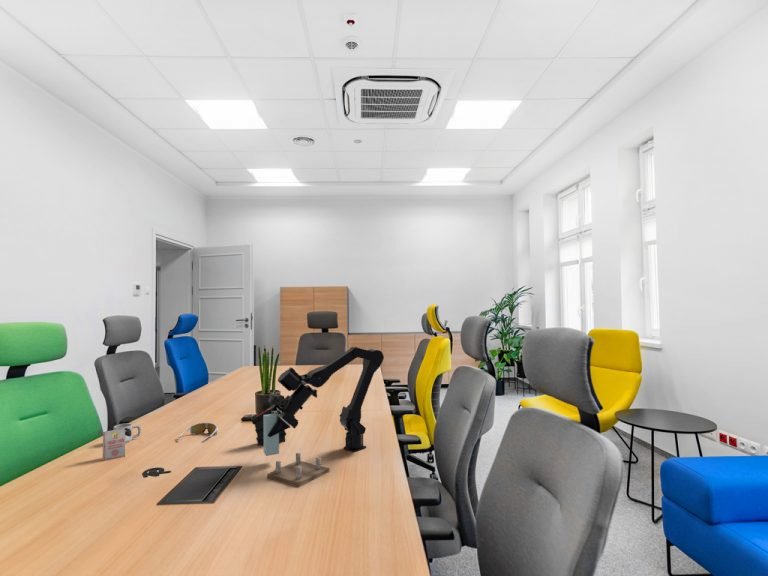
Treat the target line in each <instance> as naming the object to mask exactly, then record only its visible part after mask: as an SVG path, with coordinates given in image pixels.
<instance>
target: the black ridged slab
mask: <svg viewBox="0 0 768 576" xmlns="http://www.w3.org/2000/svg"><path fill="white" fill-rule="evenodd" d="M271 406H272V405H271ZM271 406H269V407H267V408H265V409H264V410H262V411H260V412H257V414H255V415H253V416H252V417H251V416H250V419H251V424H252V425H254V428H255V429H254V430H255V434H256V438H255V439H256V442H257V446H264V422H263V415H269V414H272V412H271V411H274V410H273V409H272V408H270V407H271ZM286 436H287V432H286V430H283V431H281V432H279V443H282V442H283V443H284V442H286Z"/></svg>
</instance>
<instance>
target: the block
mask: <svg viewBox="0 0 768 576" xmlns="http://www.w3.org/2000/svg"><path fill="white" fill-rule="evenodd" d="M277 416H278V415H277V414H269V415H263V422H264V445H263V453H264V455H265V456H273V455H279V454H280V442H279V433H277V434H275V435H273V436H271V437H269V436H268V434H269V432H270V431H271V429H272V428H273V426H274V425H275V423H276V421H277Z"/></svg>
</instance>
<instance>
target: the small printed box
mask: <svg viewBox="0 0 768 576" xmlns="http://www.w3.org/2000/svg"><path fill="white" fill-rule="evenodd" d="M124 457H126V443H125V428H124V429H118V430H114V429H113V430H106V431H103V433H102V461H108V460H110V461H111V460H115V459H119V458H124Z"/></svg>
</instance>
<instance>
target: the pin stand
mask: <svg viewBox="0 0 768 576" xmlns="http://www.w3.org/2000/svg"><path fill="white" fill-rule="evenodd" d="M301 458H302V457H301V452H295V461H294V462H291V463H289V464H287V465H284V466H282V461H281V460H277V461H275V469H274V470H273V471H271V472H268V473H267V474H266V477H267V479H269V480H273V481H277V482H281V483H285V484H288V485H290V486H295V487H298V488H300V487H302V486H304V485H306V484H308V483H309V482H312V481H314V480H315V479H317V478H319V477H321V476H323V475H325V474H327V473H329V472H330V467H327V466H323V465H322V458H321V457H315V464H314V463H310V462H306V461H303V460H302V459H301Z"/></svg>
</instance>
